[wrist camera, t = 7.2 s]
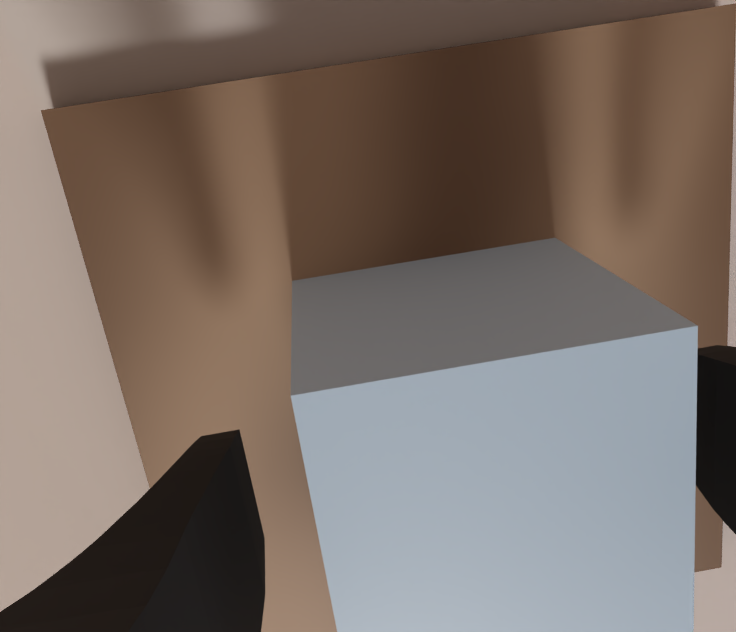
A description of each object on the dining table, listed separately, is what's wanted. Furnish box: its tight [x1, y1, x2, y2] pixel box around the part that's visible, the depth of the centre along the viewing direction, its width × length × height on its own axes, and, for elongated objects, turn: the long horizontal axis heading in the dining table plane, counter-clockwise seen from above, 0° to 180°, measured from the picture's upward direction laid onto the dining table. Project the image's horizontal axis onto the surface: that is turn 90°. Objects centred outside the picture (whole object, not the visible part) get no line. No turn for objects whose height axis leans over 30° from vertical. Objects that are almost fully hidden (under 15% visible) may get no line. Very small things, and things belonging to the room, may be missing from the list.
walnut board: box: [41, 4, 736, 632], centre depth 14 cm, size 12×12×1 cm
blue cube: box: [291, 238, 698, 632], centre depth 12 cm, size 5×5×5 cm
